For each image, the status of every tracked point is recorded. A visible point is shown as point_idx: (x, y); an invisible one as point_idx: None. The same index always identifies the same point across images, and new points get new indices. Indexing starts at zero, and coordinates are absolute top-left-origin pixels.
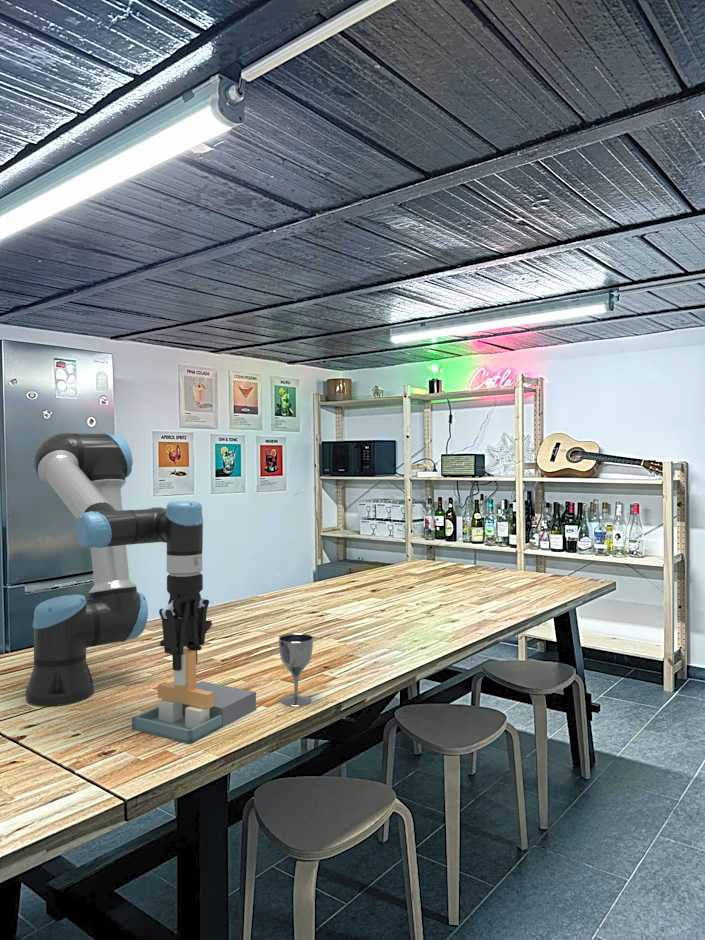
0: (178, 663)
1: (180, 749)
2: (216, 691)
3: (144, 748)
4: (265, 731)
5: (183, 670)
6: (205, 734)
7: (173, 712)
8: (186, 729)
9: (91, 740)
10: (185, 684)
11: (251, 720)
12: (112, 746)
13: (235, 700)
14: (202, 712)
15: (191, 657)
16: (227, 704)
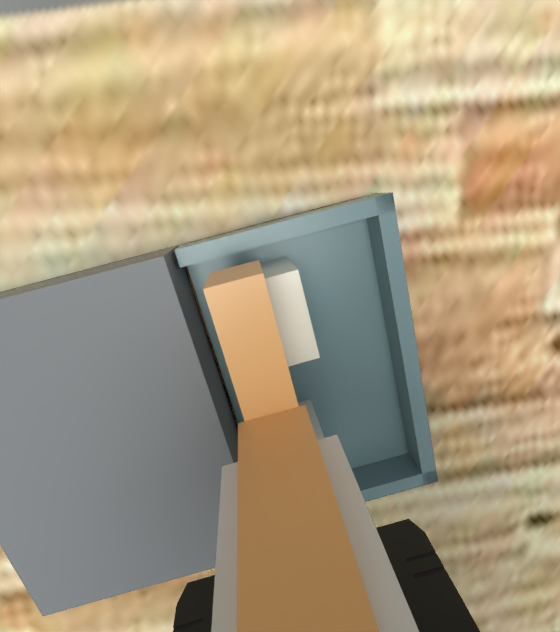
0: (432, 575)
1: (426, 179)
2: (58, 469)
3: (494, 286)
4: (54, 45)
5: (367, 509)
6: (286, 217)
7: (313, 419)
8: (386, 227)
9: (543, 457)
10: (322, 441)
11: (35, 213)
12: (539, 375)
13: (46, 301)
14: (278, 273)
15: (314, 600)
16: (114, 282)
